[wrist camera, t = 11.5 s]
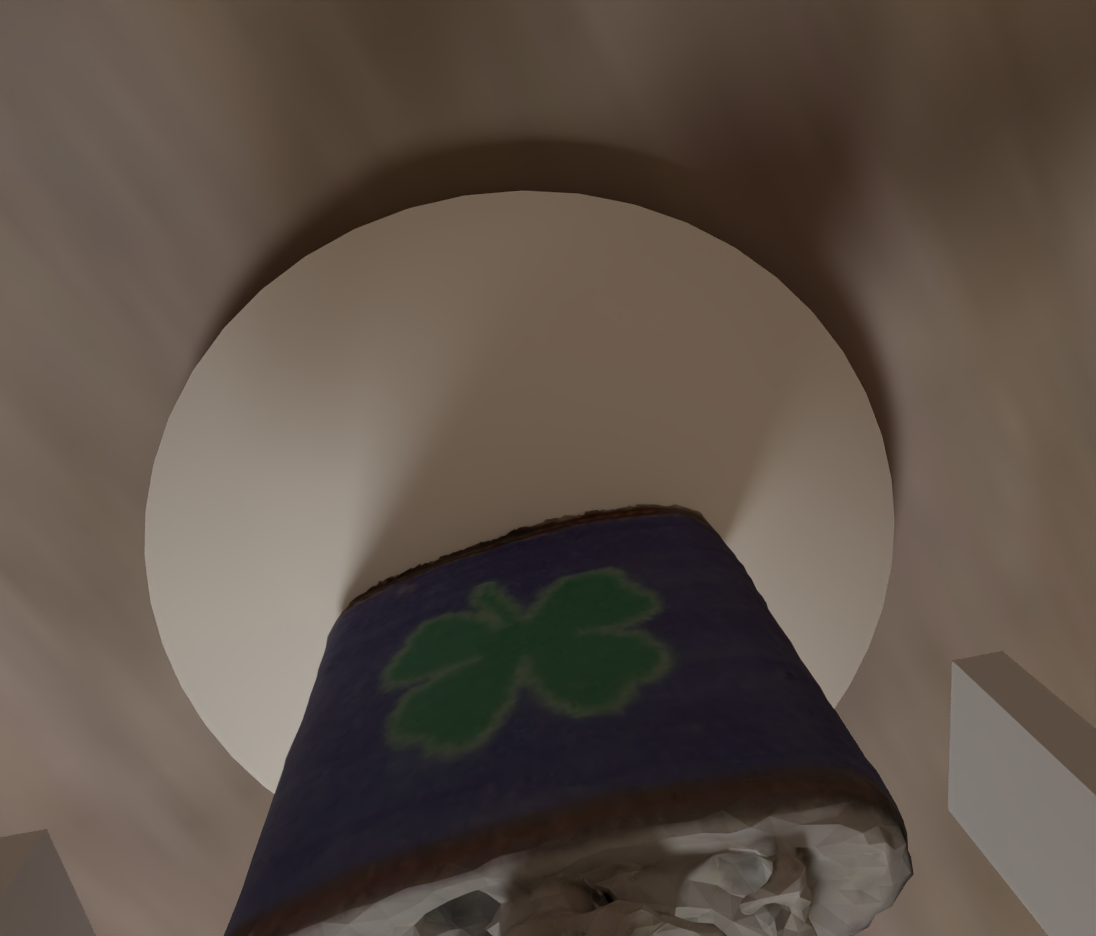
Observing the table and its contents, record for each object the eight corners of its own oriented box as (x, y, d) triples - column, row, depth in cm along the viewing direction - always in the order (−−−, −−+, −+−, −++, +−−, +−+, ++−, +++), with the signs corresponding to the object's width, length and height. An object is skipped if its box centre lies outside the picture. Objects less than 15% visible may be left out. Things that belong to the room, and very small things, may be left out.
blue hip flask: (353, 690, 18) (186, 1292, 8) (309, 583, 17) (57, 1117, 7) (731, 587, 18) (1037, 1071, 8) (708, 474, 17) (1022, 860, 7)
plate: (275, 882, 22) (263, 921, 20) (56, 260, 16) (23, 264, 15) (872, 779, 22) (893, 811, 21) (867, 132, 16) (895, 127, 15)
